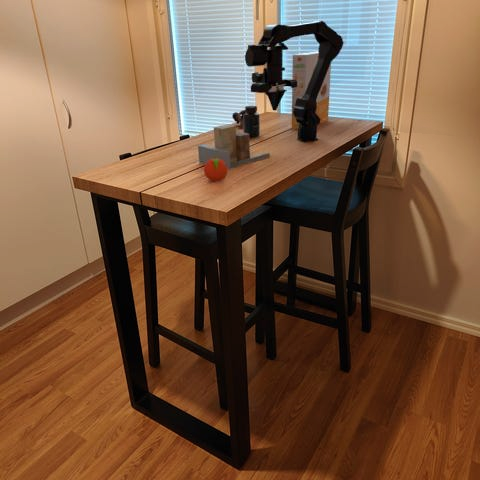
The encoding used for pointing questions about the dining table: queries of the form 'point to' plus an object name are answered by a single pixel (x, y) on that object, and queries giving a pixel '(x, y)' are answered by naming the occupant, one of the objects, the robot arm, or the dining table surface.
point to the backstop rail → (223, 156)
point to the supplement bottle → (251, 121)
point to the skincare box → (226, 140)
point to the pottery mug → (239, 117)
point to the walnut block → (242, 146)
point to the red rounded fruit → (215, 169)
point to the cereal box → (302, 74)
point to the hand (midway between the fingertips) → (274, 110)
